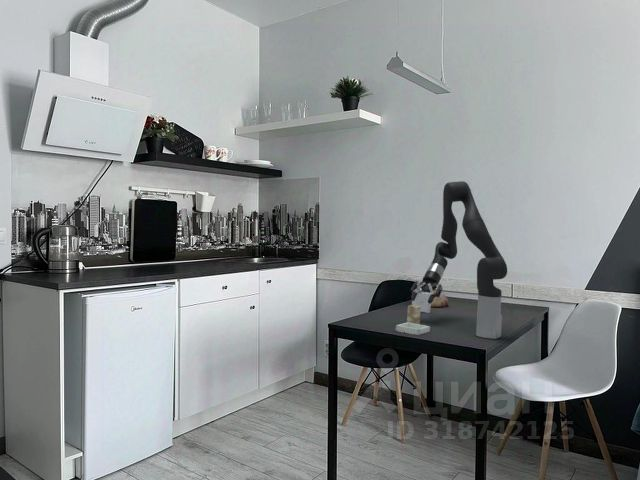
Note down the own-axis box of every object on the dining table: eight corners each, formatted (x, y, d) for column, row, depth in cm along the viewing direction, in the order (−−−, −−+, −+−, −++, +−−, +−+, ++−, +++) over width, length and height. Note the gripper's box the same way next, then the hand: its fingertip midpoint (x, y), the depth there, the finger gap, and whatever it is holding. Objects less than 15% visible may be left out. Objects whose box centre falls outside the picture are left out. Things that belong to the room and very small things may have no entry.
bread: (413, 307, 284) (413, 290, 284) (425, 303, 300) (425, 286, 300) (441, 309, 275) (441, 291, 275) (452, 305, 292) (452, 287, 292)
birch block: (419, 326, 227) (420, 306, 227) (415, 327, 224) (416, 307, 224) (410, 324, 230) (411, 305, 229) (406, 325, 227) (407, 305, 227)
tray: (429, 332, 215) (430, 326, 215) (418, 335, 207) (418, 329, 207) (407, 327, 222) (407, 322, 222) (395, 330, 214) (395, 325, 214)
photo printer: (431, 312, 264) (432, 289, 263) (428, 313, 260) (429, 289, 260) (413, 309, 269) (414, 287, 269) (410, 310, 266) (411, 287, 265)
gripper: (418, 268, 242) (404, 294, 233) (445, 271, 233) (432, 298, 224) (422, 278, 246) (409, 304, 238) (449, 281, 237) (437, 308, 228)
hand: (420, 301), depth 231 cm, fingers open, 8 cm apart
